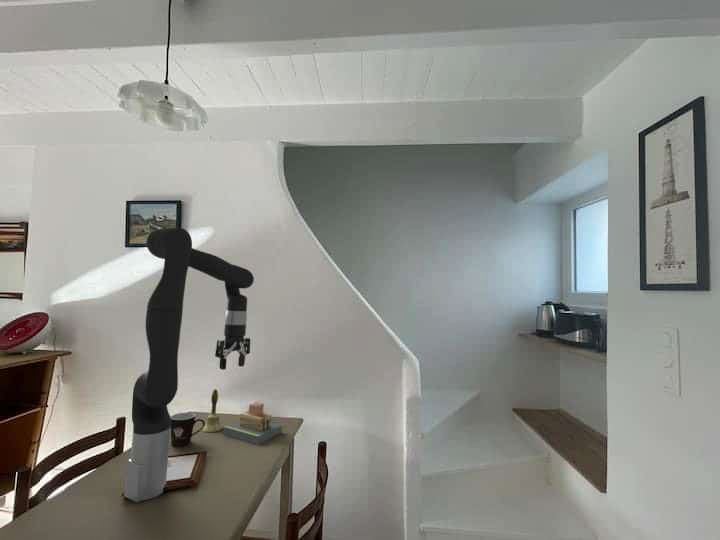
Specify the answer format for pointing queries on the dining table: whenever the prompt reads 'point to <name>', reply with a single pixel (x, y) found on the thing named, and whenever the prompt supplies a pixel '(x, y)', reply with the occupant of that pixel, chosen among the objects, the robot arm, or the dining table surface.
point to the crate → (256, 409)
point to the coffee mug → (183, 428)
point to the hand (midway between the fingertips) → (232, 367)
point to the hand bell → (213, 416)
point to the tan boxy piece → (255, 421)
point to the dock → (252, 433)
